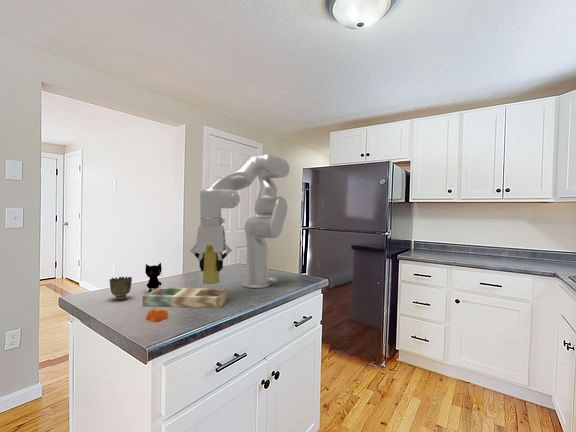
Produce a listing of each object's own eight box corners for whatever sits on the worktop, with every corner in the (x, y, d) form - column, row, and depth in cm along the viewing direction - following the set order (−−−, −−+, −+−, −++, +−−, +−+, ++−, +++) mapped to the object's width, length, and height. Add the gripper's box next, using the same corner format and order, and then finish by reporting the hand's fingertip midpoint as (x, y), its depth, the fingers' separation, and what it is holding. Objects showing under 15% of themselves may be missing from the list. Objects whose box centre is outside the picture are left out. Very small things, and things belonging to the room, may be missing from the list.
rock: (160, 311, 100) (160, 299, 100) (185, 318, 94) (185, 305, 94) (126, 322, 90) (126, 308, 90) (152, 331, 84) (152, 316, 83)
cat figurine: (146, 295, 116) (147, 265, 116) (141, 291, 121) (141, 262, 121) (164, 292, 121) (165, 263, 121) (159, 288, 126) (159, 261, 126)
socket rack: (229, 297, 114) (229, 289, 114) (221, 307, 102) (221, 297, 102) (158, 296, 115) (158, 287, 115) (142, 305, 103) (142, 296, 103)
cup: (111, 297, 112) (111, 276, 112) (132, 295, 115) (132, 275, 115) (107, 303, 105) (107, 281, 105) (130, 301, 108) (131, 279, 108)
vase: (219, 284, 107) (218, 245, 106) (201, 284, 106) (201, 245, 105) (220, 279, 113) (219, 243, 112) (203, 280, 112) (203, 243, 111)
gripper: (236, 221, 112) (236, 268, 113) (191, 221, 112) (191, 268, 113) (231, 222, 104) (232, 273, 105) (184, 222, 105) (184, 272, 106)
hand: (211, 270), depth 109 cm, fingers closed on vase, 5 cm apart
